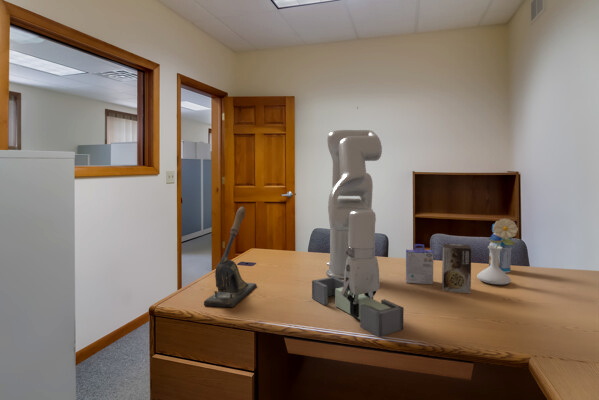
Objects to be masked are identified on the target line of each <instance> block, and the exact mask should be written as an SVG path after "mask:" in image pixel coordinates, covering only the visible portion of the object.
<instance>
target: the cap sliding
mask: <svg viewBox="0 0 599 400" xmlns="http://www.w3.org/2000/svg"><path fill="white" fill-rule="evenodd" d="M341 287H344V279H343V280H342V279H339V278H336V277H330V276H328V277H323V278H319V279H313V280H311V298H312V300H315V301H316V302H318V303H320V304H321V305H323V306H326V305H328V297H331V296H333V297H335V289H336V288H341Z"/></svg>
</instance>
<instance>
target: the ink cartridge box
mask: <svg viewBox="0 0 599 400" xmlns="http://www.w3.org/2000/svg"><path fill="white" fill-rule="evenodd" d="M413 245H414V249H405V251H406V252H405V282H406V284H423V285H433V284H434V256H435V255H434V251H433V250H431V249H425V244H424V243H423V244H422V243H421V244H420V243H414V244H413Z"/></svg>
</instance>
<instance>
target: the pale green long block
mask: <svg viewBox="0 0 599 400" xmlns="http://www.w3.org/2000/svg"><path fill="white" fill-rule="evenodd" d="M342 289H343V287H341V288H336V289H335V296H334V305H335V307H337V308H338V309H339V310H342V311H344V312H345V313H347V314H349V315H351V314H350V302H349V301H348V299H347V298H346V297H344V296H342V295H341V291H342ZM348 294H349V291H348ZM353 298H354V294H353ZM357 303H358V304H359V317H357V318H356V319H358V320H360V309H361V305H363V304H364V305H366V306H368V307H370V308H372V309H374V310H376V311H379V312H381V311H384V310H388V309H391V307H389V306H387V305H384V304H382V303H381V301H377V300H375V299H374V298H373V299H371V298H369V297H367V296H365V295H364V294H360V295H358V301H357ZM351 316H352V317H354V316H353V315H351Z"/></svg>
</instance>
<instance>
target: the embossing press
mask: <svg viewBox="0 0 599 400" xmlns="http://www.w3.org/2000/svg"><path fill="white" fill-rule="evenodd" d="M235 213H236V214H235V216H234V217H235V218H234V221H233V223H232V226H231V228H230V232H229V233H230V234H229V235H230V237H229V240H228V241H227V242H228V243H227V244H226V247H225V248H226V249H225V250H224V253H223V254H222V257H221V259H220V260H219V262H218V264H217V265H216V268H215V271H214V274H215V275H214V277H215V287H216V288H217V290H214V293H213V294H211V296H209V297H208V298H206V299H205V300H204V302H203V305H204V306H212V307H224V308H225V307H230V308H232V307H234V306H236V305H237V304H238V303H239V302H240V301H241V300H242V299H244V298H245V297H246V296H247V295H249V294H250V293H251V292H252V291H253V290H254V289H255V288H256V287H257V283H255V282H246V281H245V280H244V279H243V277H242V276H241V274H240V270H239V267H238V265H237V263H236V262H235V261H233V260H232V259H228V258H229V254H230V251H231V248H232V245H233V242H234V240H235V238H236V237H237V235H238V233H239V230H240V228H241V227H240V226H241V225H242V223H243V220H244V218H245V216H246V208H245V207H244V206H243V205H242V206H240V207H239V208H238V209H237V211H236V212H235Z"/></svg>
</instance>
